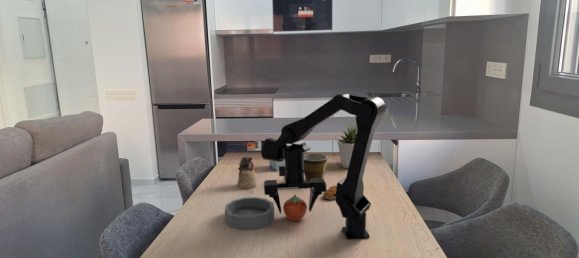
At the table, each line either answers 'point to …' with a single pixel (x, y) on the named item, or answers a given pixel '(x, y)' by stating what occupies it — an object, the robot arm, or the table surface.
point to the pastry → (330, 193)
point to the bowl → (249, 213)
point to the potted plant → (346, 146)
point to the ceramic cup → (314, 166)
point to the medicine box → (276, 164)
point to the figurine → (246, 174)
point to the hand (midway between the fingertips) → (295, 212)
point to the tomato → (295, 208)
